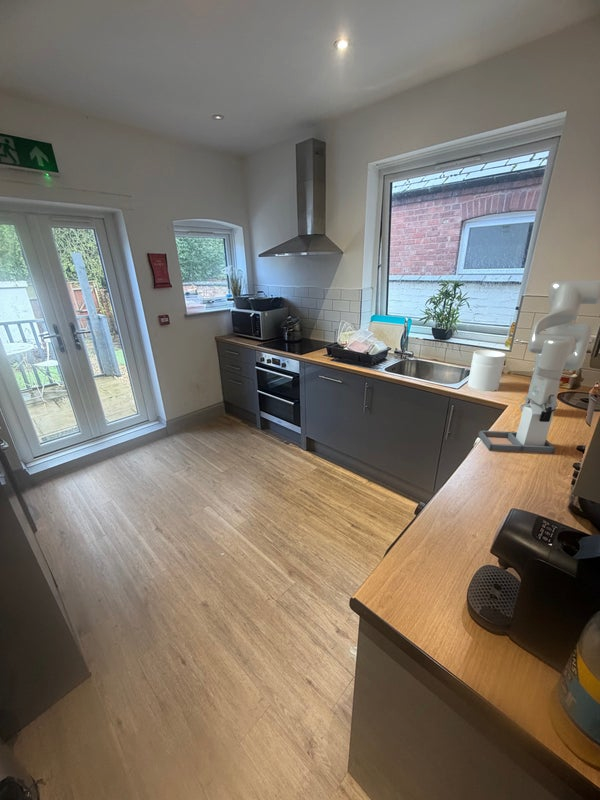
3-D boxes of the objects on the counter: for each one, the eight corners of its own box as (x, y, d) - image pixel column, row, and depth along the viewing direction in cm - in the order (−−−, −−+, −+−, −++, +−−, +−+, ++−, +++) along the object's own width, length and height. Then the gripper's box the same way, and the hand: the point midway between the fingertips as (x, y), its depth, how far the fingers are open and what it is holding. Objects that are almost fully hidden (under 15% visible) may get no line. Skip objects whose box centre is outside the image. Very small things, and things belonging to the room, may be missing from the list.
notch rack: (477, 435, 137) (478, 430, 136) (537, 438, 134) (538, 432, 133) (489, 450, 126) (490, 444, 125) (554, 453, 123) (555, 447, 122)
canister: (499, 384, 194) (506, 351, 186) (497, 393, 181) (505, 358, 174) (469, 380, 202) (475, 348, 194) (465, 388, 189) (472, 354, 182)
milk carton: (543, 449, 126) (556, 404, 119) (522, 448, 127) (535, 403, 120) (534, 440, 132) (546, 397, 125) (515, 439, 133) (526, 396, 126)
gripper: (525, 366, 126) (515, 407, 133) (551, 380, 110) (538, 425, 117) (546, 366, 125) (535, 407, 132) (575, 380, 109) (561, 426, 116)
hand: (536, 416), depth 124 cm, fingers open, 9 cm apart
